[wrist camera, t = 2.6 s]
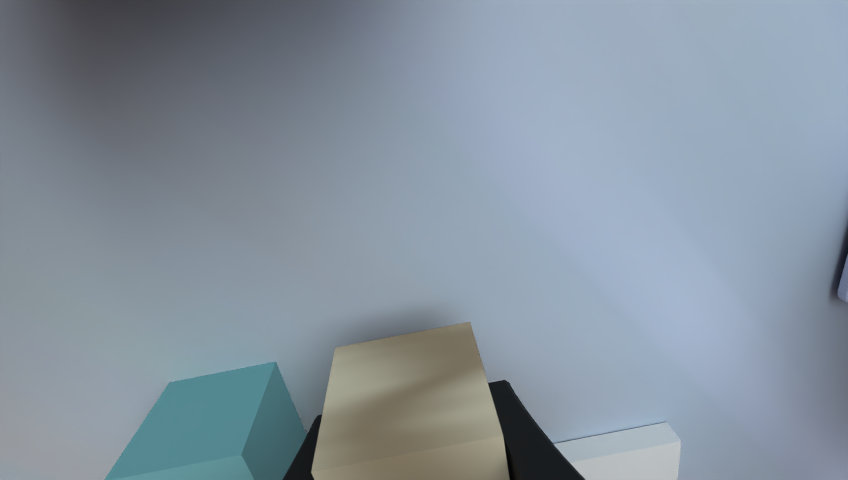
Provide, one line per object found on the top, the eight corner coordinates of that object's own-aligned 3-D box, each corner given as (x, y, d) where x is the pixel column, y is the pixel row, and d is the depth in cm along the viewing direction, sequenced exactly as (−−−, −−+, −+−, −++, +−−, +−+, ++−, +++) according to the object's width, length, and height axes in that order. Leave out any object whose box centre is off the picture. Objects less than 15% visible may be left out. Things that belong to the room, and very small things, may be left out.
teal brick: (276, 360, 16) (240, 454, 12) (307, 436, 17) (285, 539, 14) (170, 381, 16) (103, 481, 12) (212, 454, 17) (164, 563, 14)
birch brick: (470, 321, 12) (502, 435, 9) (485, 420, 14) (519, 551, 10) (335, 347, 12) (311, 472, 9) (367, 443, 14) (358, 581, 10)
